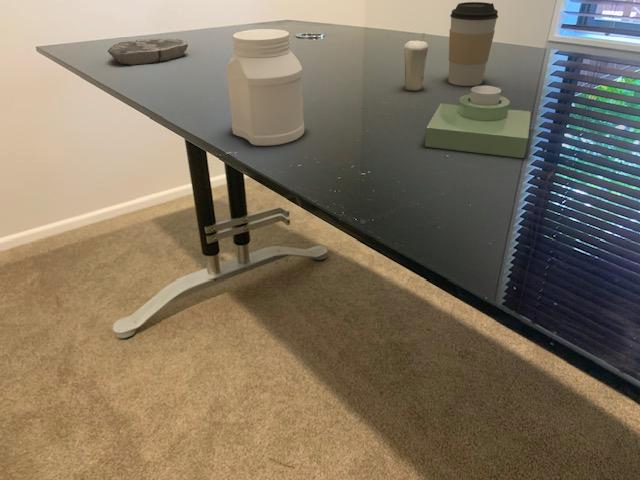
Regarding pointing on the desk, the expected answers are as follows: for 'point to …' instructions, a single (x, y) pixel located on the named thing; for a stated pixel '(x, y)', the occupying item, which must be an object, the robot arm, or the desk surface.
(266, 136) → the jar
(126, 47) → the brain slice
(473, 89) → the flush button
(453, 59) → the coffee cup
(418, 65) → the milkshake
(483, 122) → the panel
